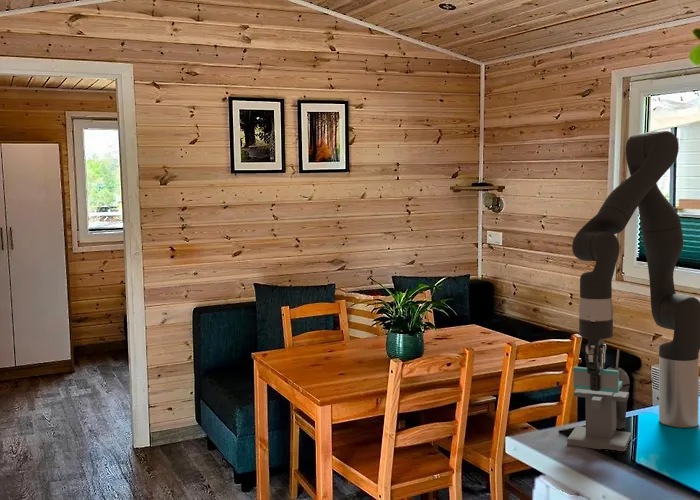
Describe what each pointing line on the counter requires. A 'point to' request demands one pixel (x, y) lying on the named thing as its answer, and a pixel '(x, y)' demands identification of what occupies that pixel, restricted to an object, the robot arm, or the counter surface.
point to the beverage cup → (624, 378)
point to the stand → (600, 422)
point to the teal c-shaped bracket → (607, 379)
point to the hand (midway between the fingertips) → (596, 389)
